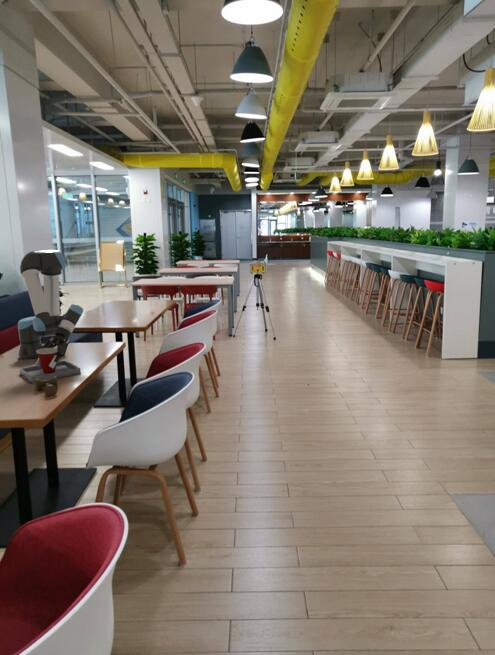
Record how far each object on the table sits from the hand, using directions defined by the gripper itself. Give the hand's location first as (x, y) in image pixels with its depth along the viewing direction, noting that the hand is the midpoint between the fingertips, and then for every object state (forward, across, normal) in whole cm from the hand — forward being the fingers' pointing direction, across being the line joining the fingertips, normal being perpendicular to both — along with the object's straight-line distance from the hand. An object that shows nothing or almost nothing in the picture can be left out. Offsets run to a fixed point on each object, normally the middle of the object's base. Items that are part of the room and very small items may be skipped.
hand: (44, 366), depth 257 cm
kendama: (+16, -23, +9) cm, 29 cm away
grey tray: (+1, 0, -6) cm, 6 cm away
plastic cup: (+1, 0, -5) cm, 5 cm away
